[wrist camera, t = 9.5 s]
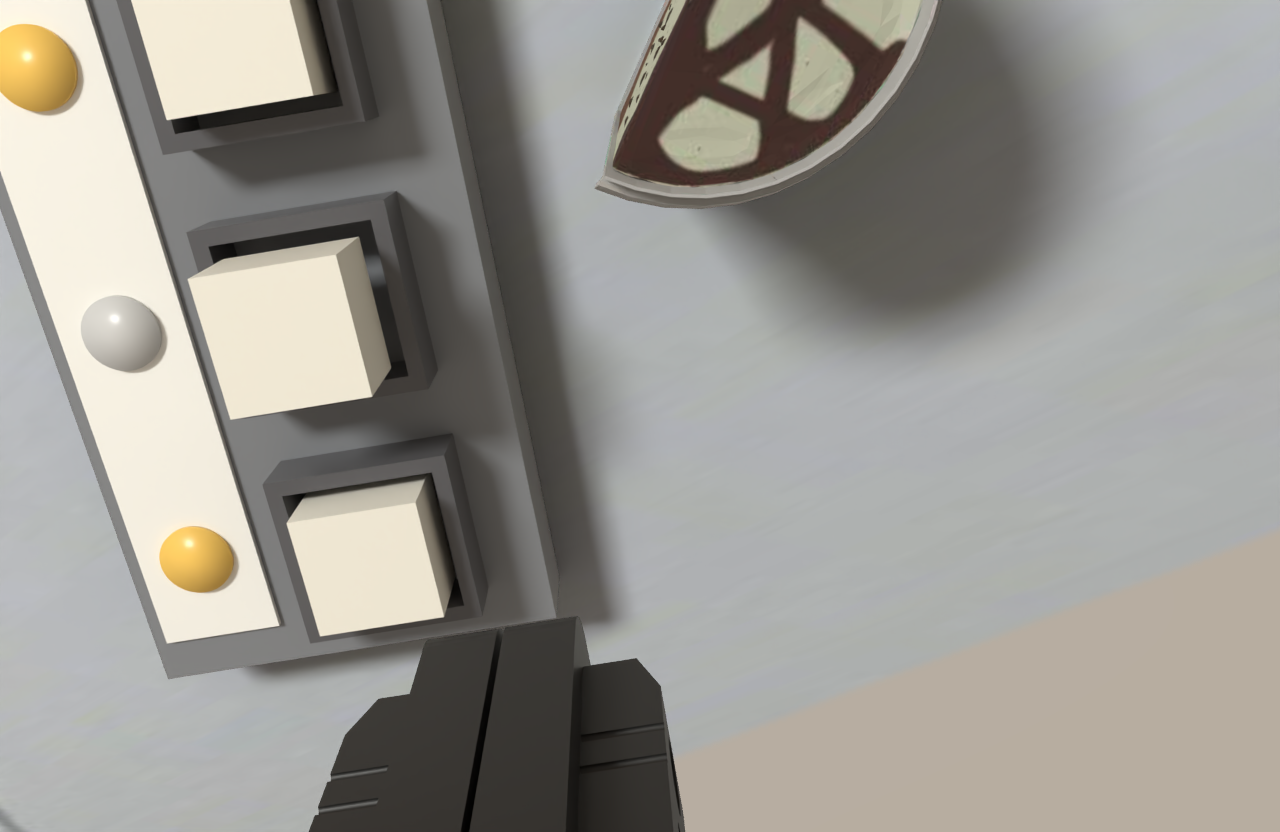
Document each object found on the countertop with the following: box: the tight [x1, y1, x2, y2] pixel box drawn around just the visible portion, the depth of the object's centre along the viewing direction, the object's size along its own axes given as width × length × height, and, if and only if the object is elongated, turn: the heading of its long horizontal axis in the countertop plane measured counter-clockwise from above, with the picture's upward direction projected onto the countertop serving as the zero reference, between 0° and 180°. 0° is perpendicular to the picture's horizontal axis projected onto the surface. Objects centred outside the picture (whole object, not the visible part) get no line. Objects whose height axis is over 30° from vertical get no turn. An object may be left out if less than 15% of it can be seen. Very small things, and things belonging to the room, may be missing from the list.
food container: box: [595, 0, 943, 209], centre depth 29 cm, size 12×6×10 cm, turn 155°
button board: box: [0, 0, 560, 679], centre depth 34 cm, size 14×25×5 cm, turn 9°
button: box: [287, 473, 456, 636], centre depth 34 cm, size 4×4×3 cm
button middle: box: [188, 237, 391, 420], centre depth 30 cm, size 4×4×3 cm
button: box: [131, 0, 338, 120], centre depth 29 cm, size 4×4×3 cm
